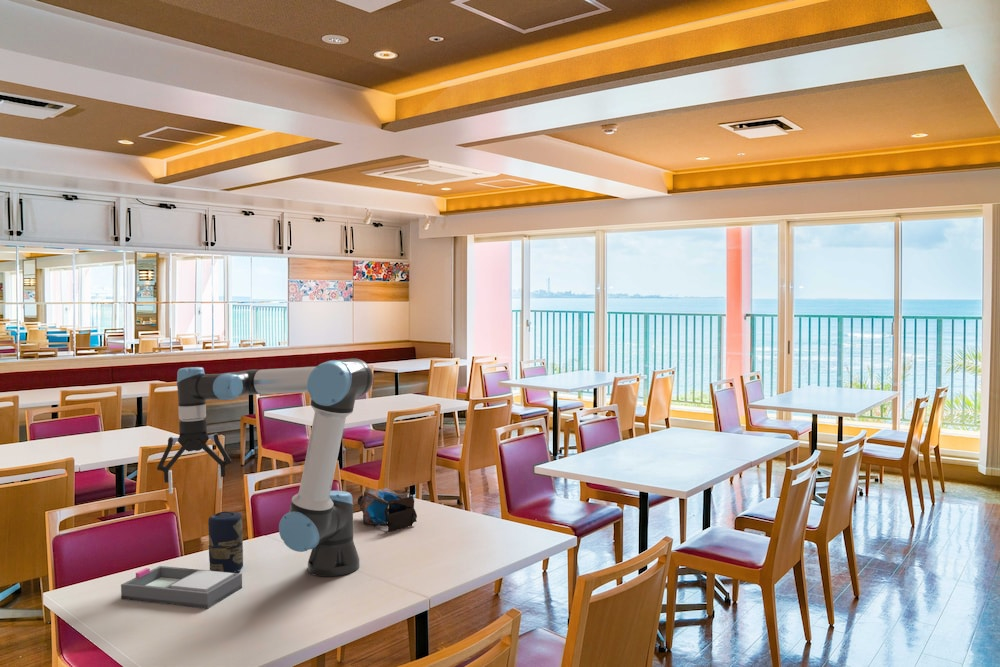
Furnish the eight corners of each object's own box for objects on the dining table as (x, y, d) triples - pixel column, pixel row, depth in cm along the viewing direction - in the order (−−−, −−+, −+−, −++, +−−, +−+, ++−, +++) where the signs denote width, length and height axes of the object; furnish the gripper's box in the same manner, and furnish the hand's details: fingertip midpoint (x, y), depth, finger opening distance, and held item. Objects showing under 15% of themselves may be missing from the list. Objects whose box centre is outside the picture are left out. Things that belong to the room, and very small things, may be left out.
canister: (232, 578, 214) (230, 516, 214) (202, 576, 216) (201, 515, 215) (249, 566, 224) (248, 507, 223) (221, 564, 225) (220, 506, 225)
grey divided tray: (242, 587, 206) (241, 569, 206) (207, 608, 192) (207, 589, 192) (160, 579, 213) (159, 561, 213) (121, 599, 199) (120, 580, 199)
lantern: (405, 547, 261) (360, 529, 277) (428, 506, 268) (383, 492, 284) (378, 525, 251) (334, 508, 267) (403, 484, 258) (358, 470, 274)
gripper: (237, 414, 227) (240, 483, 227) (147, 421, 218) (151, 492, 219) (237, 417, 220) (240, 488, 220) (145, 424, 211) (148, 498, 212)
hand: (195, 490), depth 220 cm, fingers open, 13 cm apart
